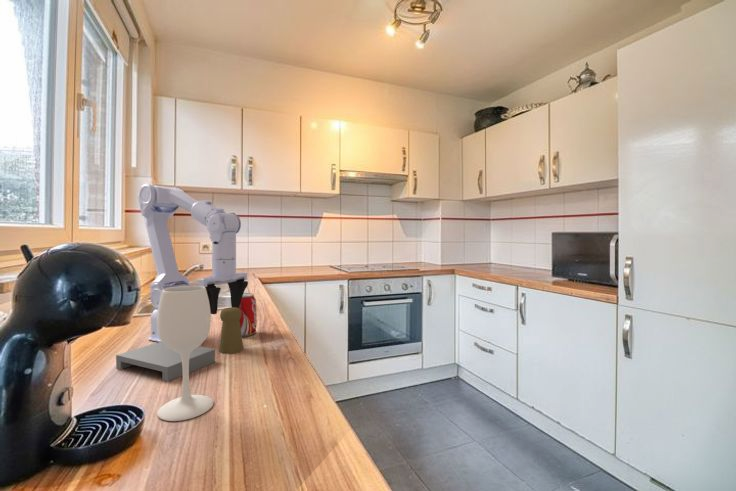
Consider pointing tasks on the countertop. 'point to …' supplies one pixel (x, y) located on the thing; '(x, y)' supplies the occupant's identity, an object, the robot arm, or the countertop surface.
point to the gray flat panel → (165, 359)
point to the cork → (230, 331)
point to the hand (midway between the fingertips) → (224, 310)
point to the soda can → (248, 314)
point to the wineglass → (184, 343)
